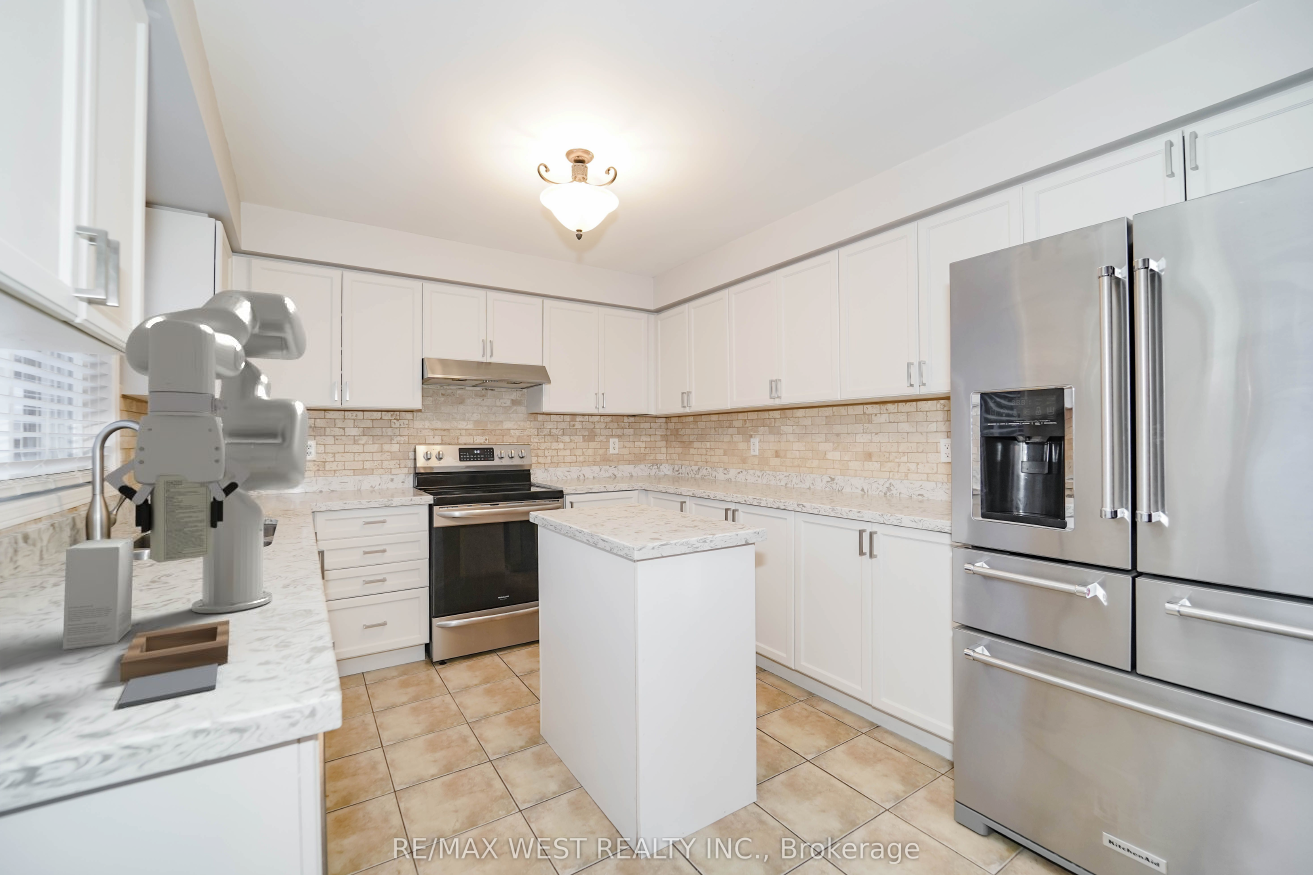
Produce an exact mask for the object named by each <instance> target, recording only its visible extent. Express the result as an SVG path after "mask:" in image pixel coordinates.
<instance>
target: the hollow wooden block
mask: <svg viewBox="0 0 1313 875" xmlns="http://www.w3.org/2000/svg"><path fill="white" fill-rule="evenodd" d="M229 644H230V619H226V620H225V619H224V620H220V621H214V622H206V623H199V624H192V625H185V626H179V627H171V628H164V629H158V630H151V631H144V632H143V631H142V632H138V633H136V634H135V636H134V638H133V639H132V641H131V643H130V645H129V647H128V648H127V650H126V652H125V654H124V656H123V657H122V660H121V661H120V667H119V669H120V672H119V673H120V674H119V682H120V683H123V682H129V681H130V679H133V678H138V677H144V676H150V675H155V674H161V673H166V672H172V671H177V670H183V669H188V668H194V667H199V666H205V665H211V664H216V663H218V665H222V664H228V661H229Z"/></svg>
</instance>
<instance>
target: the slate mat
mask: <svg viewBox="0 0 1313 875" xmlns="http://www.w3.org/2000/svg"><path fill="white" fill-rule="evenodd" d="M218 665H219V664H218V663H216V664H211V665H205V666H199V667H194V668H188V669H183V670H177V671H172V672H166V673H161V674H155V675H150V676H144V677H138V678H133V679H130V680H129V681H128V683H127V685H126V687H125V689H124V691H123V693H122V696H121V698H120V699H119V702H118V704H117V706H118V709H122V708H126V707H130V706H135V705H141V704H146V703H151V702H156V701H161V700H165V699H166V700H167V699H171V698H177V697H181V696H186V695H190V694H195V693H201V692H206V691H210V690H215V689H216V686H217V676H218V669H219V668H218V667H219V666H218Z"/></svg>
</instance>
